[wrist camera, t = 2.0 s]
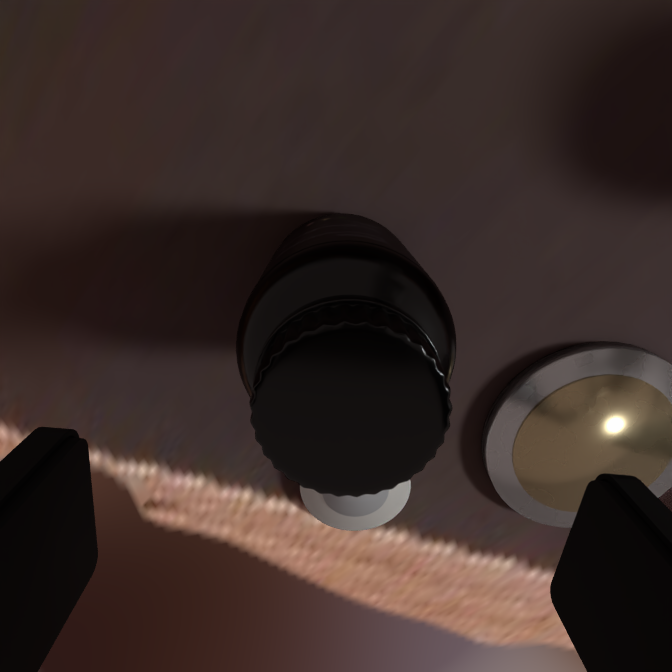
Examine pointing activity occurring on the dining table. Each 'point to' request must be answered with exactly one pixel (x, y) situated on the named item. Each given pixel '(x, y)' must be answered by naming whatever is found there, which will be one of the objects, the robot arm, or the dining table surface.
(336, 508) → the plastic flange
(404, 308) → the supplement bottle
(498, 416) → the silver and gold coaster
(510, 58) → the dining table surface
